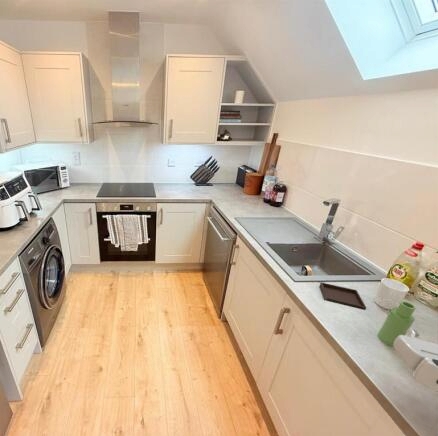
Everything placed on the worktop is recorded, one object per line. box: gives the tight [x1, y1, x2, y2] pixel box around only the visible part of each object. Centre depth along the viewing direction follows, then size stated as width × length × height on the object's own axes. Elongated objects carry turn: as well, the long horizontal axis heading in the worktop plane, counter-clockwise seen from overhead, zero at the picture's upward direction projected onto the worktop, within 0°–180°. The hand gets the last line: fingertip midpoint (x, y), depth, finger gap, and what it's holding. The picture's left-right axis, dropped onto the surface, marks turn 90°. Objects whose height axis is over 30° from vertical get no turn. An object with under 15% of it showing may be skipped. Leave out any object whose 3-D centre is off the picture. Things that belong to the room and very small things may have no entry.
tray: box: [318, 282, 367, 311], centre depth 99 cm, size 13×11×2 cm
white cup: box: [373, 277, 410, 311], centre depth 95 cm, size 8×8×10 cm
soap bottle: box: [377, 300, 416, 348], centre depth 76 cm, size 5×5×17 cm
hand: (434, 337), depth 62 cm, fingers open, 8 cm apart
